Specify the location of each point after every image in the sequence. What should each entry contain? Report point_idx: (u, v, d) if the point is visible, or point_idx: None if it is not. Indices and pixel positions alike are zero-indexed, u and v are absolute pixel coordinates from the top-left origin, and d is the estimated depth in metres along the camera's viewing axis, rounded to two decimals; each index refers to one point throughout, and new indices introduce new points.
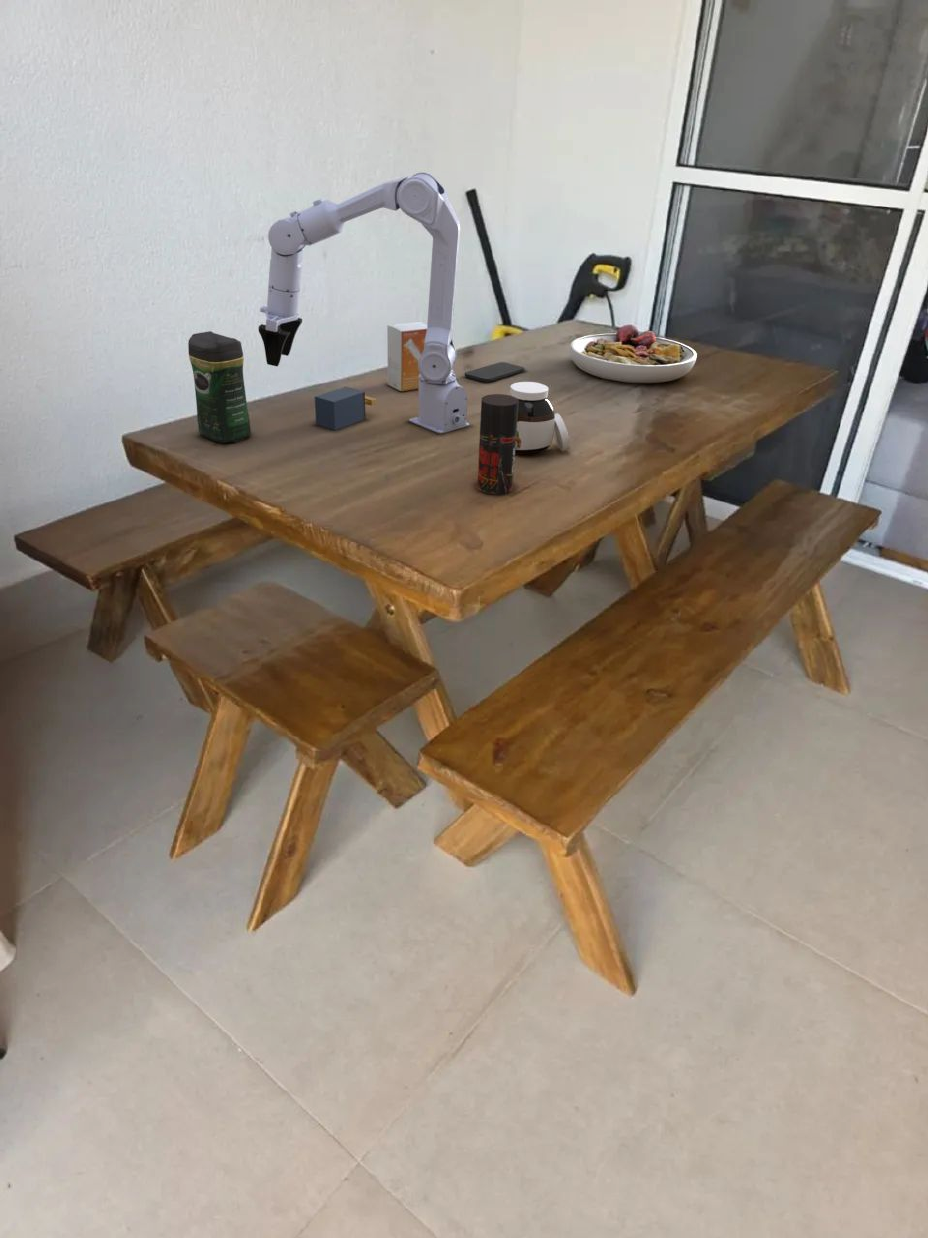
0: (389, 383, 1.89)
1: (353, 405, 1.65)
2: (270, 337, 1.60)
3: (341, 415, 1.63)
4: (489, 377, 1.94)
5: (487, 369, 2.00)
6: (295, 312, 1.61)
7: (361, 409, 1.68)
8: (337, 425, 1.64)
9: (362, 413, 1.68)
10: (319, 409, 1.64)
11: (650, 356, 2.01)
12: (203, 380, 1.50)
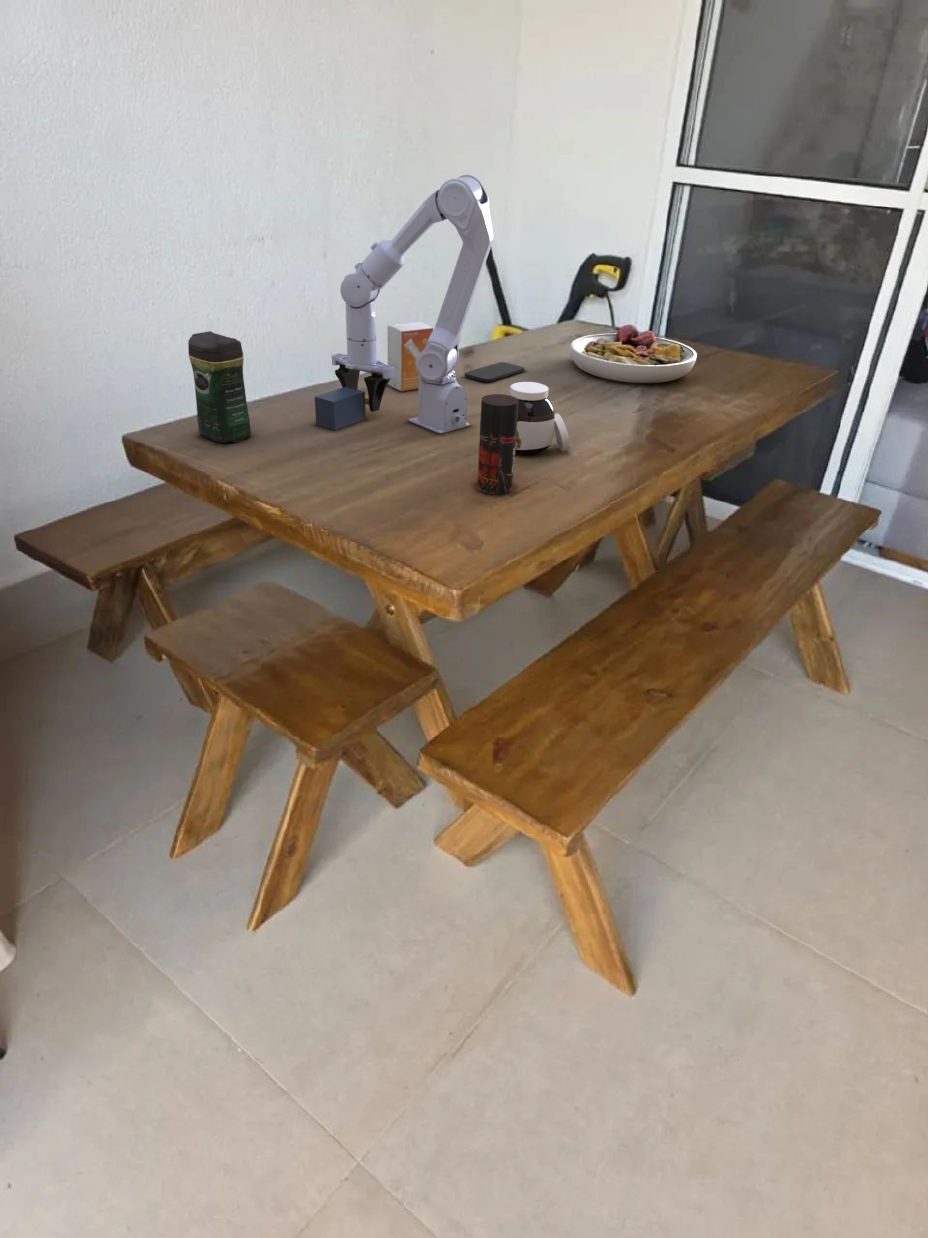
0: (389, 383, 1.89)
1: (353, 405, 1.65)
2: None
3: (341, 415, 1.63)
4: (489, 377, 1.94)
5: (487, 369, 2.00)
6: None
7: (361, 409, 1.68)
8: (337, 425, 1.64)
9: (362, 413, 1.68)
10: (319, 409, 1.64)
11: (650, 356, 2.01)
12: (203, 380, 1.50)
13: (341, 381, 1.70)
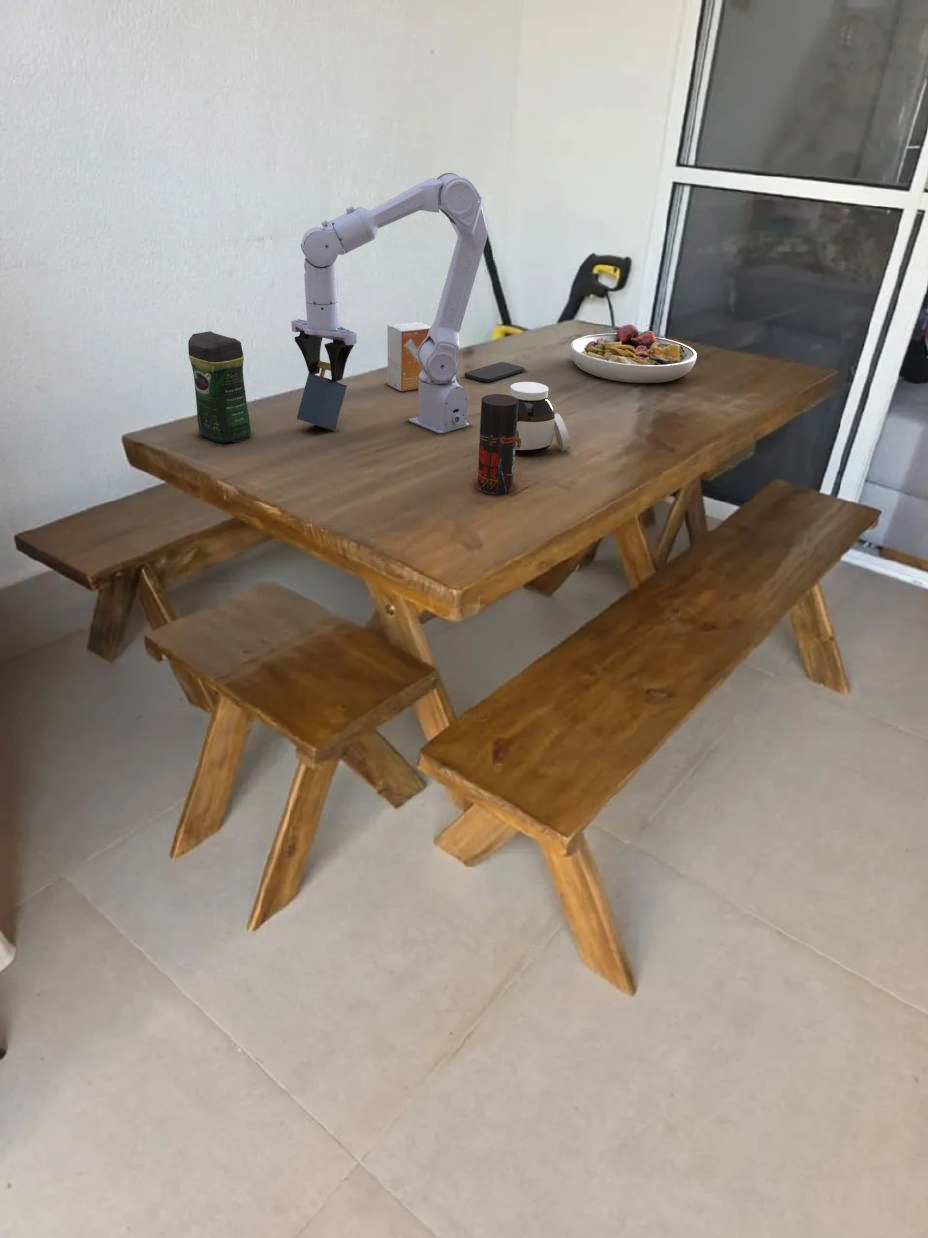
0: (389, 383, 1.89)
1: (330, 398, 1.59)
2: None
3: (328, 418, 1.61)
4: (489, 377, 1.94)
5: (487, 369, 2.00)
6: None
7: (337, 388, 1.60)
8: (333, 425, 1.63)
9: (341, 388, 1.61)
10: None
11: (650, 356, 2.01)
12: (203, 380, 1.50)
13: (301, 349, 1.58)
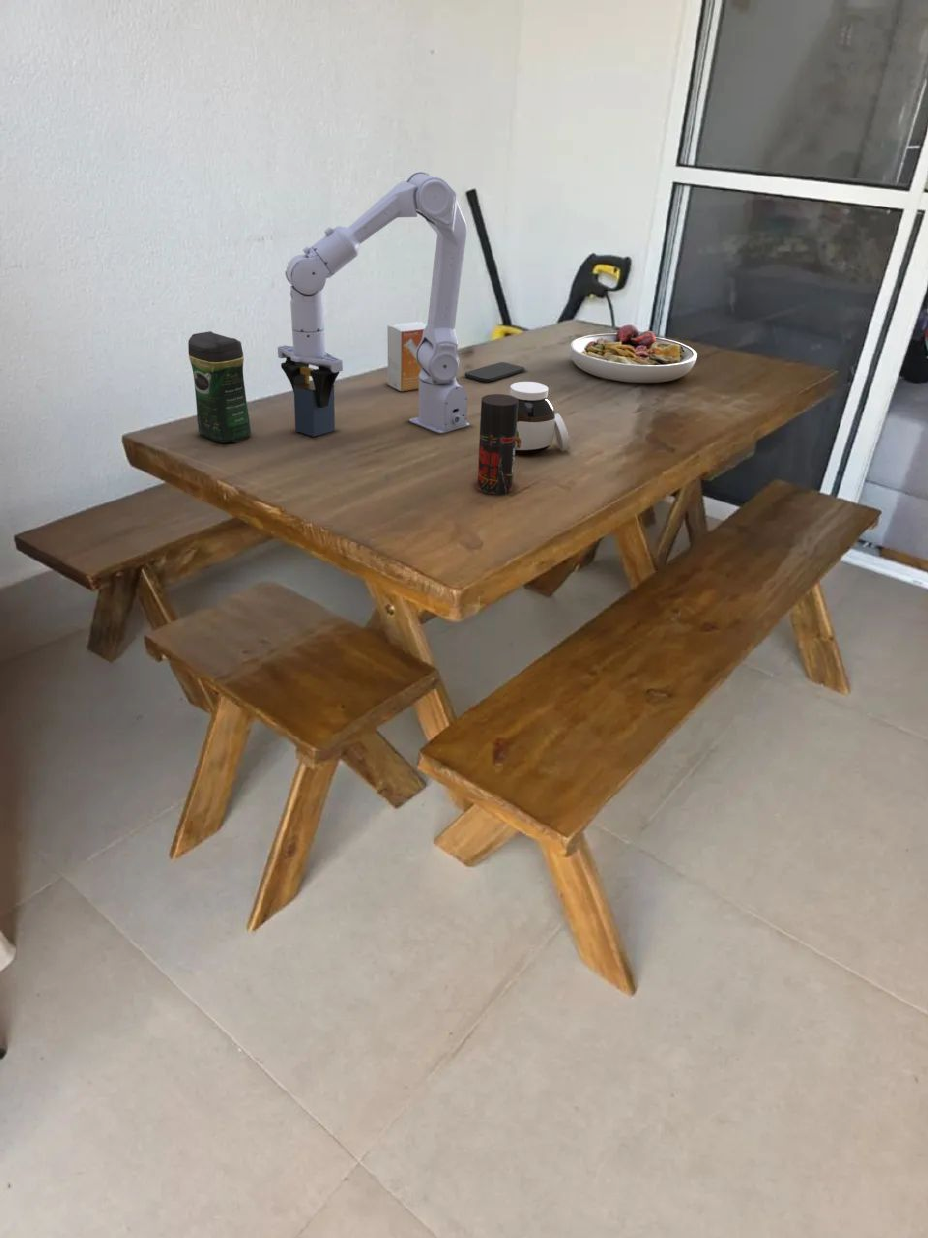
0: (389, 383, 1.89)
1: None
2: None
3: (325, 423, 1.61)
4: (489, 377, 1.94)
5: (487, 369, 2.00)
6: None
7: None
8: (331, 427, 1.62)
9: None
10: None
11: (650, 356, 2.01)
12: (203, 380, 1.50)
13: (288, 375, 1.57)
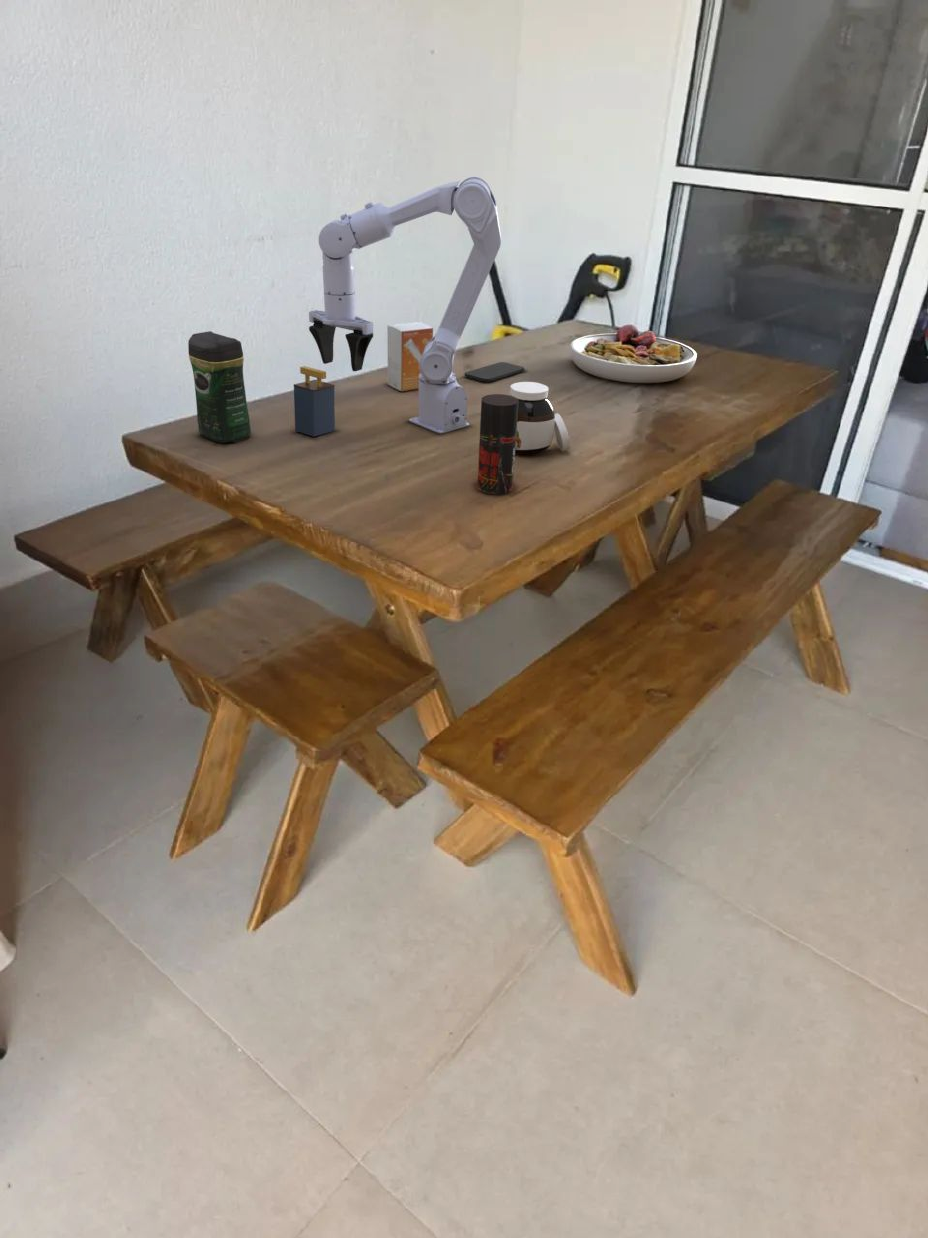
0: (389, 383, 1.89)
1: (321, 406, 1.58)
2: None
3: (325, 423, 1.61)
4: (489, 377, 1.94)
5: (487, 369, 2.00)
6: None
7: (326, 392, 1.58)
8: (331, 427, 1.62)
9: (329, 390, 1.59)
10: None
11: (650, 356, 2.01)
12: (203, 380, 1.50)
13: (316, 338, 1.63)
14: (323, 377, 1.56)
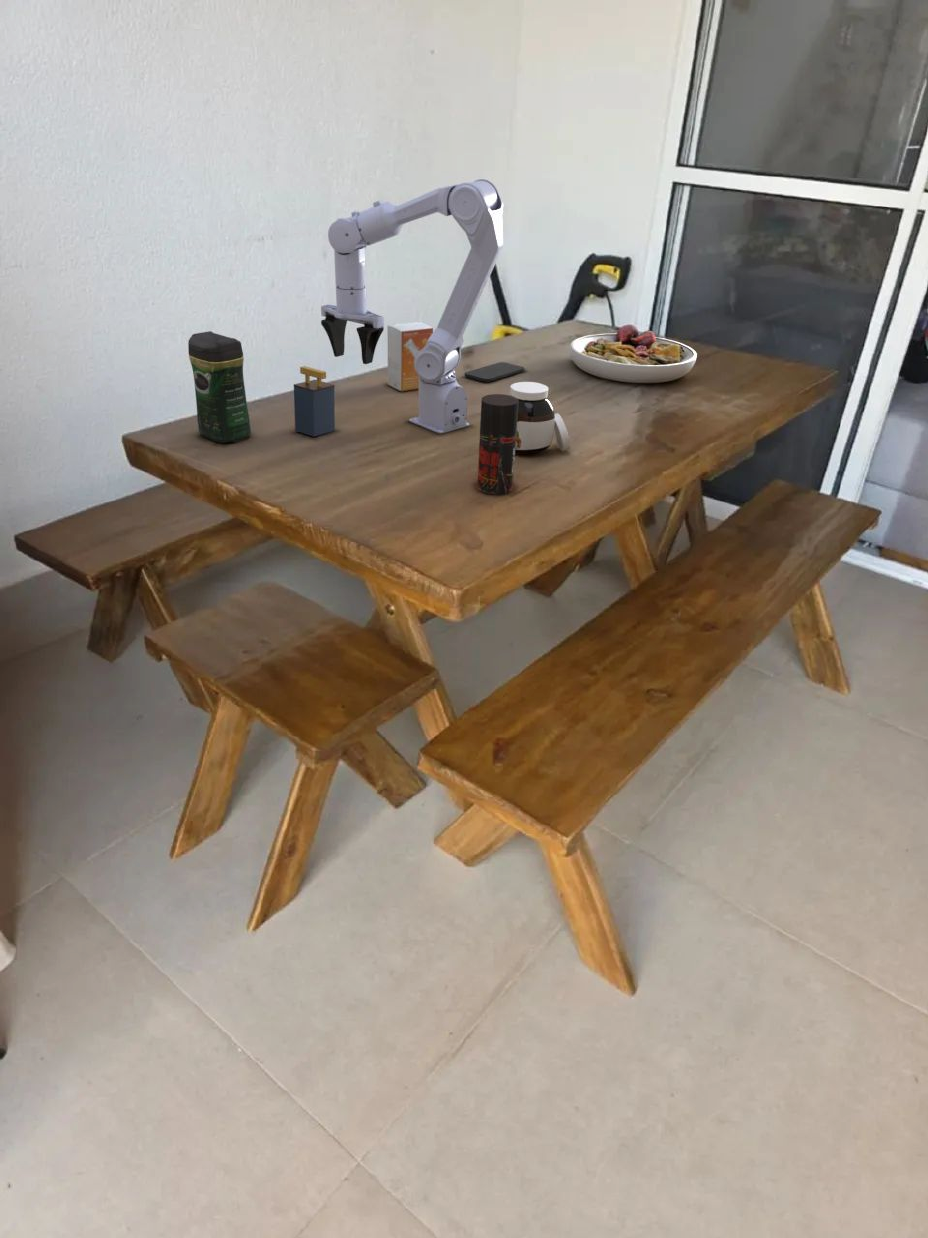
0: (389, 383, 1.89)
1: (321, 406, 1.58)
2: None
3: (325, 423, 1.61)
4: (489, 377, 1.94)
5: (487, 369, 2.00)
6: None
7: (326, 392, 1.58)
8: (331, 427, 1.62)
9: (329, 390, 1.59)
10: None
11: (650, 356, 2.01)
12: (203, 380, 1.50)
13: (327, 331, 1.67)
14: (323, 377, 1.56)
